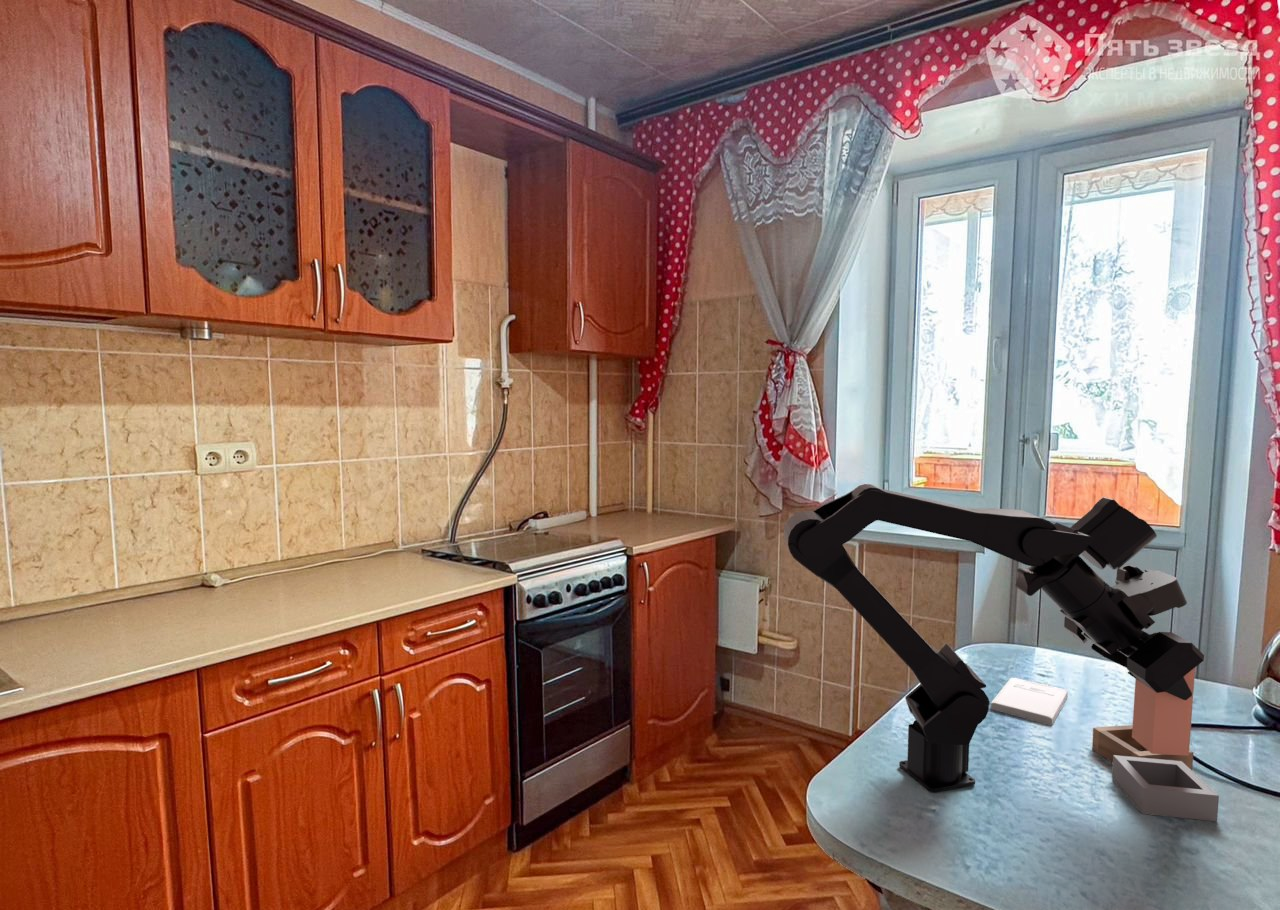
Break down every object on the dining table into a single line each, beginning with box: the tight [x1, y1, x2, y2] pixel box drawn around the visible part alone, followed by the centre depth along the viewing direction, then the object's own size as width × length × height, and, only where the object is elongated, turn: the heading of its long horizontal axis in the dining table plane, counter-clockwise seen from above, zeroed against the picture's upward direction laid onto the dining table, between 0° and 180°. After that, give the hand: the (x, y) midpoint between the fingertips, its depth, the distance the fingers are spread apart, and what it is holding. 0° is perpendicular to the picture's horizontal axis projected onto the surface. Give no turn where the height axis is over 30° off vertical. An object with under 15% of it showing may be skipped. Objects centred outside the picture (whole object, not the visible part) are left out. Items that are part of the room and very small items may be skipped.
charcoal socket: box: [1111, 755, 1220, 822], centre depth 81 cm, size 7×7×3 cm
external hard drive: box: [990, 677, 1069, 726], centre depth 107 cm, size 2×8×12 cm
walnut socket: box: [1091, 724, 1194, 771], centre depth 89 cm, size 7×7×3 cm
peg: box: [1132, 646, 1198, 756], centre depth 82 cm, size 4×4×13 cm
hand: (1176, 689), depth 82 cm, fingers closed on peg, 4 cm apart
